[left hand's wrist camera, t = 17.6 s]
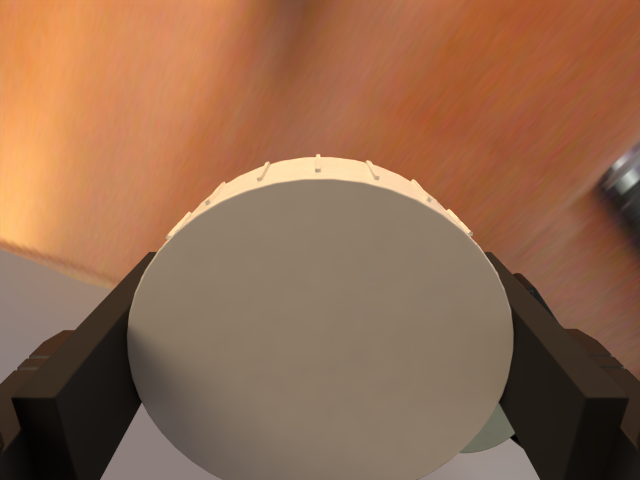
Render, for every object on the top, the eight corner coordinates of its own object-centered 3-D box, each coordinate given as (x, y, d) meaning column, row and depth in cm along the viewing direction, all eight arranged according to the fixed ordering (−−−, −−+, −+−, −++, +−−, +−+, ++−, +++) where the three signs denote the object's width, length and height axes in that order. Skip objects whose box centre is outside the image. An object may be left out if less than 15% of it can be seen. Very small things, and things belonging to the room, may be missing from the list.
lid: (514, 164, 11) (563, 187, 9) (453, 443, 14) (477, 510, 12) (145, 143, 11) (100, 161, 9) (170, 431, 14) (143, 497, 12)
